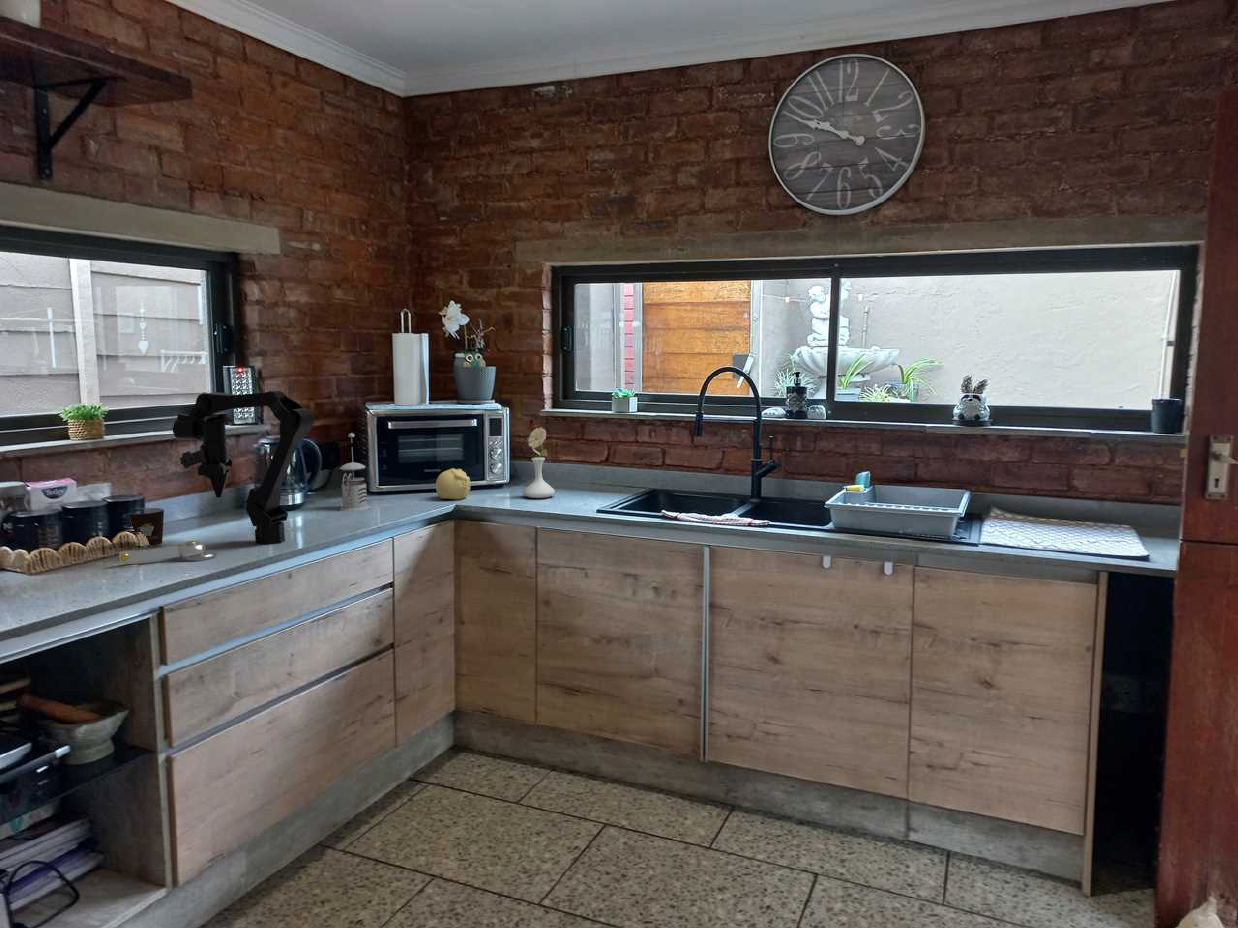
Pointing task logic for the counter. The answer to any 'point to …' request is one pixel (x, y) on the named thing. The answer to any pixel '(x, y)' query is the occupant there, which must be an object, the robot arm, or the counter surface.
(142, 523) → the coffee mug
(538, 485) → the flower in vase
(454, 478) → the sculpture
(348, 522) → the counter surface
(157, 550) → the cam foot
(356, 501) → the french press
